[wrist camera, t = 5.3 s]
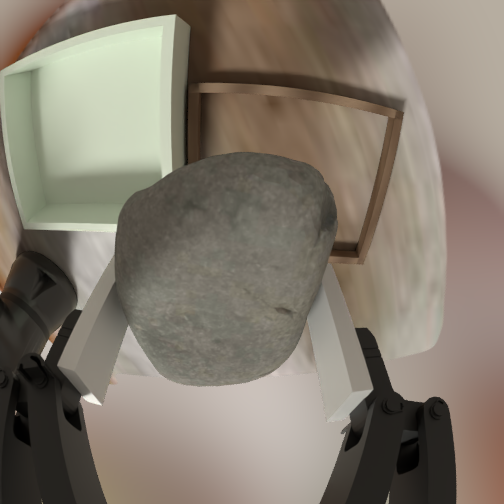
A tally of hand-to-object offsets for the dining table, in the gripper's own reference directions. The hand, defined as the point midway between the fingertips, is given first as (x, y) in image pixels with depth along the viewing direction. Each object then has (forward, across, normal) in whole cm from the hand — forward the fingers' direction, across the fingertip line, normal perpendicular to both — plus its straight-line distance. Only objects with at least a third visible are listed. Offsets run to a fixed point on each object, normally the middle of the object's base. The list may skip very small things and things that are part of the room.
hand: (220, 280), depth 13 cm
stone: (+2, 0, +2) cm, 3 cm away
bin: (+19, -16, +4) cm, 26 cm away
